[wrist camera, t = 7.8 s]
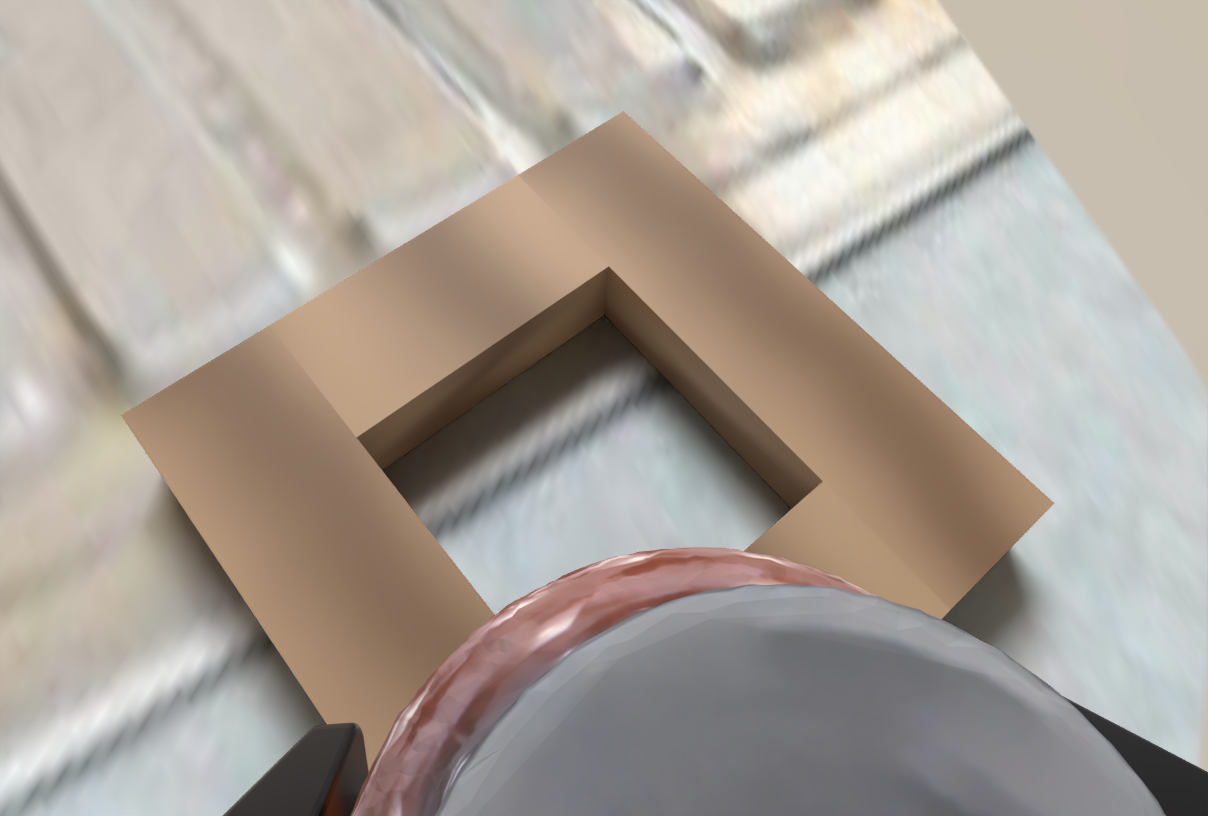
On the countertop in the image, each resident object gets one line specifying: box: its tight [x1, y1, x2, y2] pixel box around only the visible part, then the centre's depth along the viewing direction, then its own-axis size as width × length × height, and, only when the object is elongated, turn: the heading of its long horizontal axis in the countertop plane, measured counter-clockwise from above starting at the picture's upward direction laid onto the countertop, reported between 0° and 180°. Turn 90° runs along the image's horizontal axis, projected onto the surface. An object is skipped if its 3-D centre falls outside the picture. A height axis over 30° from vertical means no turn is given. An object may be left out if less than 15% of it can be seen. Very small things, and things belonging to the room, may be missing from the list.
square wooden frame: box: [121, 111, 1054, 771], centre depth 21 cm, size 16×16×2 cm
